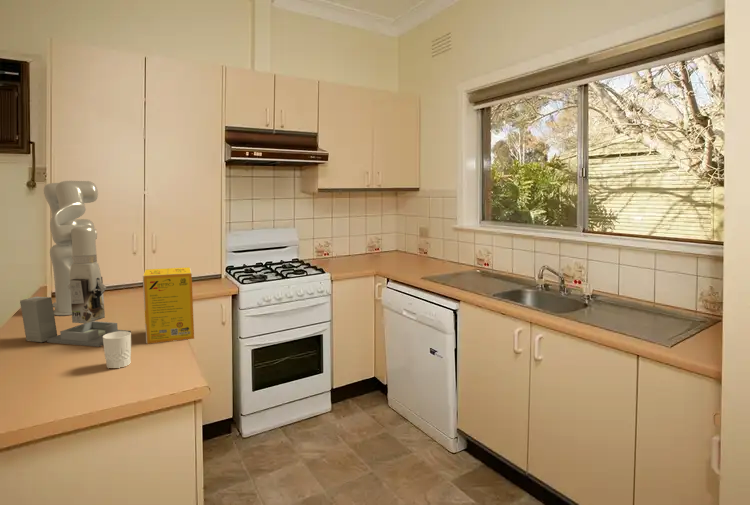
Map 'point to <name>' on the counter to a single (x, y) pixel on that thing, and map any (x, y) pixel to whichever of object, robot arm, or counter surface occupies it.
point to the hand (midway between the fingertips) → (88, 306)
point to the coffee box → (84, 303)
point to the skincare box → (38, 318)
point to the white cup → (117, 349)
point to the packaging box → (168, 304)
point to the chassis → (86, 334)
